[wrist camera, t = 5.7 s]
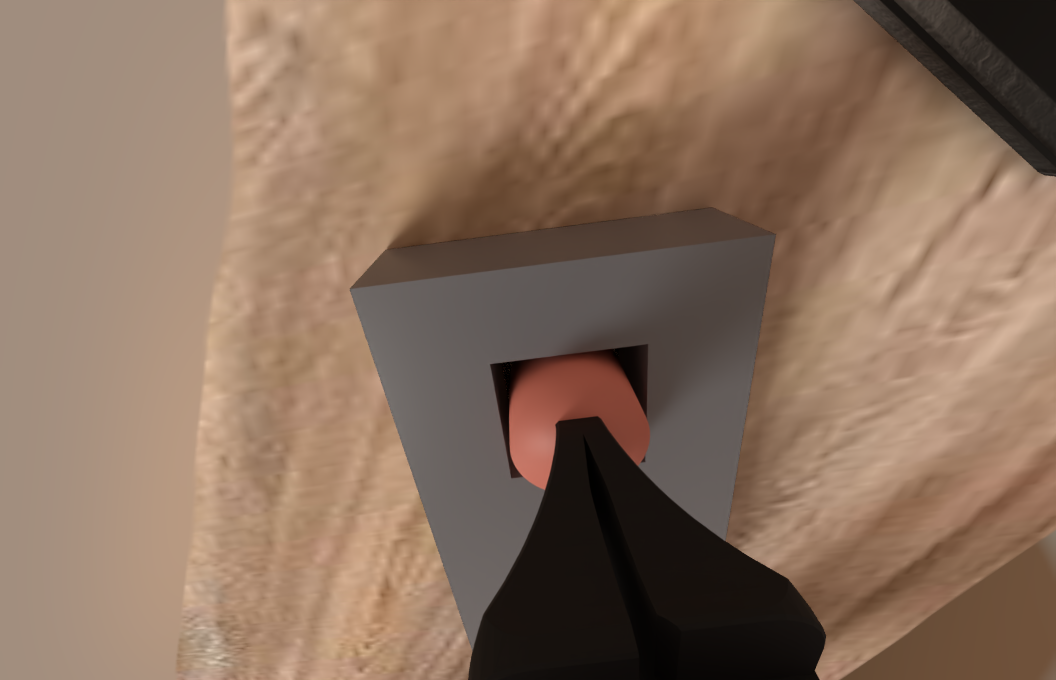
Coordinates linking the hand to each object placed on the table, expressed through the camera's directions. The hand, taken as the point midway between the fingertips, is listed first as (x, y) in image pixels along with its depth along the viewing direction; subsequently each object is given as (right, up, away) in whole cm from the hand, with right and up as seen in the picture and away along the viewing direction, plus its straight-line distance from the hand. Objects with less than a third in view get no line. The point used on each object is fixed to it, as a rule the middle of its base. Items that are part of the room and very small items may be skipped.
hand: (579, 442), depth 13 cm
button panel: (0, -2, +7) cm, 8 cm away
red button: (0, +2, +3) cm, 3 cm away
